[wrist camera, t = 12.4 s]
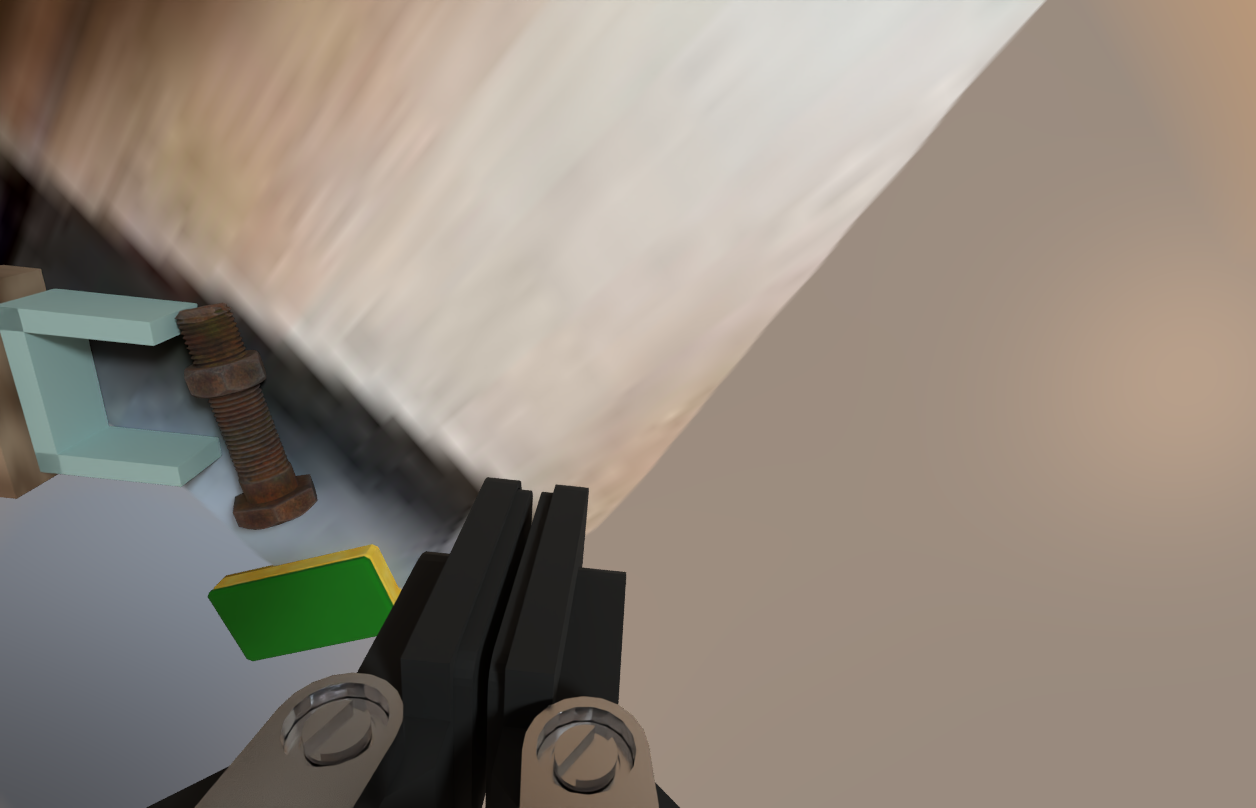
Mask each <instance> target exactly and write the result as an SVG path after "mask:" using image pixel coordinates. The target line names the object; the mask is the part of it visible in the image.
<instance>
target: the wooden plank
mask: <svg viewBox="0 0 1256 808" xmlns="http://www.w3.org/2000/svg"><path fill="white" fill-rule="evenodd" d="M44 291H46V287H45V283H44V279H43V275H42V271H41V269H37V268H27V267H18V266H8V265H0V304H1V303H4V302H8V301H12V300H15V299H19V298H22V297H26V296H30V295H33V294H37V293H40V292H44ZM56 475H58V474H55V473H45V472H40V469H39V465H38V462H37V458H36V455H35V451H34V448H33V444H32V441H31V437H30V434H29V430H28V427H27V424H26V420H25V417H24V413H23V410H22V406H21V403H20V399H19V396H18V392H17V389H16V385H15V382H14V378H13V375H12V372H11V368H10V365H9V361H8V358H7V354H6V351H5V347H4V344H3V340H2V337H1V333H0V497H5V498H15V499H17V498H19V497H20V496H22V495H23V494H25V493H27V492H29V491H31V490H32V489H34V488H36V487H37V486H39V485H41V484H42V483H44V482H46V481H47V480H49V479H51V478H52V477H54V476H56Z"/></svg>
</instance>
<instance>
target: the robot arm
mask: <svg viewBox="0 0 1256 808" xmlns="http://www.w3.org/2000/svg"><path fill="white" fill-rule="evenodd" d="M588 494H589V488H585V487H575V486H566V485H556V486H555V489H554V492H553V493H549V492H542V493H541V496H540V499H539V502H538V506H537V509H536V512H535V515H534V519H533V522H532V502H533V493H532V491H529V490H522V487H521V481H518V480H508V479H499V478H489V477H488V478H486V479H485V481H484V483H483V485H482V487H481V489H480V491H479V494H478V496H477V498H476V500H475V502H474V504H473V506H472V508H471V510H470V513H469V515H468V517H467V519H466V521H465V523H464V525H463V527H462V529H461V532H460V534H459V536H458V538H457V540H456V542H455V544H454V546H453V548H452V551H451V553H450V554H446V553H436V552H427V551H426V552H424V553H422V555H421V556H420V558H419V559H418V561H417V563H416V565H415V566H414V568H413V570H412V572H411V574H410V576H409V577H408V579H407V581H406V583H405V585H404V587H403V589H402V590H401V592H400V594H399V596H398V598H397V600H396V602H395V603H394V605H393V607H392V609H391V611H390V613H389V615H388V616H387V618H386V620H385V622H384V624H383V626H382V627H381V629H380V631H379V633H378V635H377V637H376V639H375V640H374V642H373V644H372V646H371V648H370V650H369V652H368V654H367V655H366V657H365V659H364V661H363V663H362V665H361V666H360V668H359V670H358V672H357V673H346V674H339V675H332V676H329V677H327V678H324V679H321V680H318V681H315V682H312V683H311V684H309V685H307V686H306V687H304V688H302V689H301V690H299V691H297V692H295V693H294V694H293V695H292V696H291V697H290V698H288V700H286V701H285V702H284V703H283V704H282V705H281V706H280V707H279V708H278V709H277V710H276V711H275V713H274V714H273V715H272V716H271V717H270V719H269V720H268V721H267V722H266V723H265V724H264V726H263V727H262V728H261V729H260V731H259V732H258V733H257V734H256V735H255V736H254V738H253V739H252V740H251V741H250V742H249V744H248V745H247V746H246V747H245V748H244V750H243V751H242V752H241V753H240V754H239V755H238V757H237V758H236V759H235V760H234V761H233V763H232V764H231V765H230V766H229V767H227V768H225V769H223V770H221V771H219V772H217V773H215V774H213V775H211V776H209V777H207V778H205V779H203V780H201V781H199V782H197V783H195V784H193V785H191V786H189V787H187V788H185V789H183V790H181V791H179V792H177V793H175V794H173V795H171V796H169V797H167V798H165V799H163V800H161V801H159V802H157V803H155V804H153V805H151V806H149V807H147V808H482V805H483V801H484V797H485V793H486V807H485V808H680V807H679V806H678V805H677V804H676V803H675V802H674V801H673V800H672V799H671V798H670V797H669V796H668V795H667V794H666V793H665V792H664V791H663V790H662V789H661V788H660V787H659V786H658V785H657V784H656V783H655V780H654V773H653V767H652V761H651V755H650V748H649V744H648V741H647V738H646V735H645V732H644V729H643V728H642V727H641V726H640V724H639V723H638V721H637V720H636V719H635V717H634V716H633V715H632V714H630V713H629V712H628V711H626V710H625V709H624V708H622V707H621V706H619V705H618V700H619V683H620V667H621V666H620V665H621V651H622V634H623V619H624V601H625V585H626V572H619V571H608V570H599V569H590V568H582V564H583V551H584V540H585V529H586V518H587V506H588ZM531 523H532V525H531Z"/></svg>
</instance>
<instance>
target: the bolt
mask: <svg viewBox="0 0 1256 808" xmlns="http://www.w3.org/2000/svg"><path fill="white" fill-rule="evenodd" d="M230 310H231V308H229V307H227V304H225V303H219V304H213V305H206V306H201V307H197V308H192V309H185V310H182V311H179V313H178V314H177V316H176V317H175V318H174V319H177V320H178V322H177V323H176V324H178V325H181V326H180V327H179V328H178V329H181V330H183V331H182V332H181V334H183V335H185V336H184V337H183V339H185V340H187V341H186V342H185V344H187V345H189V346H188V347H187V349H189V350H191V351H190V352H189V354H191V355H193V356H192V357H191V359H193V360H195V361H194V362H193V364H192V365H190V366H188V367H187V368H186V369H185V371H184V378H185V381H186V383H187V386H188V388H189V391H190V393H191V395H193V396H195V397H197V398H209V399H210V400H209V401H208V402H209V403H212V404H211V405H210V407H212V408H214V409H213V410H212V412H215V414H214V417H217V419H216V422H219V423H218V426H220V431H223V432H222V436H224V437H223V439H224V440H226V442H225V444H226V445H228V446H227V448H228V449H229V453H230V454H231V458H232V459H233V460H232V462H234V466H235V467H236V471H237V472H238V476H239V483H240V485H241V487H242V490H243V492H244V493H242V494H240V495H238V496H236V497H235V502H234V509H233V514H234V516H235V519H236V521H237V523H238V526H239V527H243V528H247V529H254V530H257V529H265V528H268V527H272V526H275V525H279V524H282V523H285V522H287V521H290V520H293V519H295V518H297V517H299V516H301V515H302V514H304V513H305V512H306V511H308V510H309V509H310V508H311V507H312V506H313V505H314V504H315V503H316V502H317V495H316V490H315V487H314V484H313V482H312V479H311V476H310V474H308V475H300V476H295V473H294V470H293V468H292V465H291V463H290V462H289V461H288V459H287V456H286V454H285V451H284V450H283V449H284V448H283V446H282V443H281V441H280V438H279V437H278V436H279V435H278V433H276V432H277V430H276V429H274V428H275V424H273V422H274V421H273V420H272V416H271V415H270V411H268V406H266V405H267V403H266V402H265V398H264V397H263V395H264V394H263V393H261V391H262V389H261V388H259V387H260V384H259V383H261V382H263V381H264V380H265V379H266V377H267V376H266V371H265V368H264V365H263V362H262V359H261V357H260V354H259V352H257V351H256V350H245V348H246V347H244V346H243V344H244V342H242V341H241V340H242V337H239V335H240V332H237V331H238V329H239V328H238V327H235V326H236V324H237V323H236V322H233V320H234V319H235V318H234V317H231V316H232V315H233V313H231V312H229V311H230ZM244 350H245V351H244Z"/></svg>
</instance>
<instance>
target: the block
mask: <svg viewBox="0 0 1256 808" xmlns="http://www.w3.org/2000/svg"><path fill="white" fill-rule="evenodd" d="M192 308H197V304H196V303H187V302H177V301H168V300H158V299H149V298H139V297H130V296H121V295H111V294H102V293H92V292H83V291H73V290H64V289H51V290H48V291H44V292H40V293H37V294H33V295H30V296H26V297H22V298H19V299H15V300H12V301H8V302H4V303H1V304H0V333H1V337H2V340H3V344H4V347H5V351H6V354H7V358H8V361H9V365H10V368H11V372H12V375H13V378H14V382H15V385H16V389H17V392H18V396H19V399H20V403H21V406H22V410H23V413H24V417H25V420H26V424H27V427H28V430H29V434H30V437H31V441H32V444H33V448H34V451H35V455H36V458H37V462H38V465H39V469H40V472H45V473H55V474H64V475H74V476H83V477H94V478H103V479H113V480H122V481H131V482H141V483H151V484H160V485H170V486H179V487H182V486H183V485H184V484H186V483H187V482H188V481H189V480H191V479H192V478H193V477H195V476H196V475H197V474H199V473H200V472H201V471H202V470H204V469H205V468H206V467H208V466H209V465H210V464H212V463H213V462H214V461H215V460H217V459H218V458H219V457H221V456H222V455H221V449H220V442H219V437H209V436H200V435H190V434H181V433H171V432H161V431H152V430H142V429H133V428H123V427H114V426H109V425H108V420H107V416H106V412H105V407H104V403H103V399H102V395H101V390H100V386H99V382H98V378H97V373H96V369H95V365H94V361H93V356H92V352H91V348H90V344H89V339H94V340H103V341H113V342H122V343H132V344H141V345H151V346H155V345H157V344H159V343H162V342H164V341H166V340H168V339H171V338H173V337H175V336H177V335H179V334H181V332H182V331H183V330H181V329H178V328H179V327H180V326H181V325H178V324H176V323H177V322H178V320H177V319H174V318H175V317H176V316H177V314H178V313H179V311H182V310H185V309H192Z"/></svg>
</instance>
